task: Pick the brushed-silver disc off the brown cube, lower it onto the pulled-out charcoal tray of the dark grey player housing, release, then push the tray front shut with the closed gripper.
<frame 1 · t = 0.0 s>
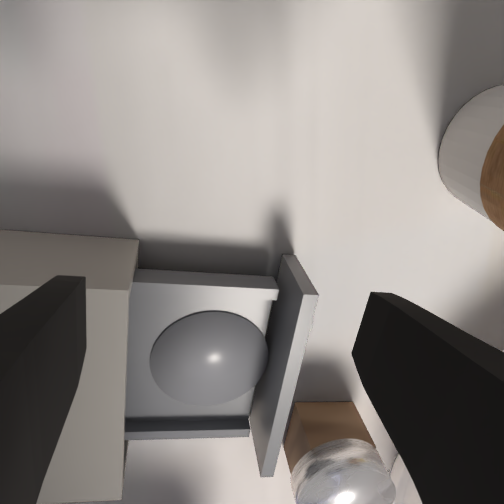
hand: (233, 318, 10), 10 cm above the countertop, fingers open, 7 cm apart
brown cube: (317, 424, 27), on the countertop
tray: (196, 368, 21), point 2 cm above the countertop, slide at 7.0 cm
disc: (335, 471, 24), point 3 cm above the countertop, touching brown cube
housing: (33, 339, 21), on the countertop
coffee cup: (489, 146, 21), on the countertop
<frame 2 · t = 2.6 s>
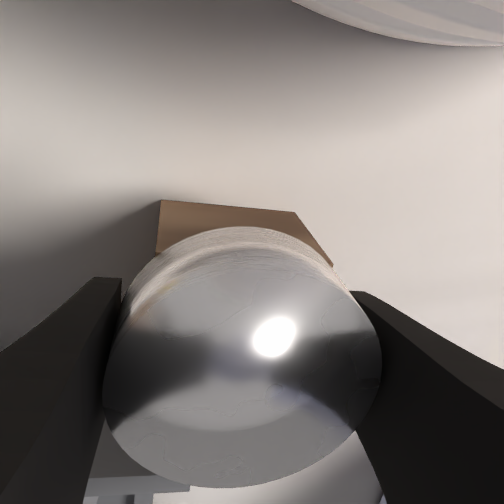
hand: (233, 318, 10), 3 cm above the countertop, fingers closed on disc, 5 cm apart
brown cube: (221, 266, 13), on the countertop
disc: (236, 332, 10), point 3 cm above the countertop, touching gripper, brown cube
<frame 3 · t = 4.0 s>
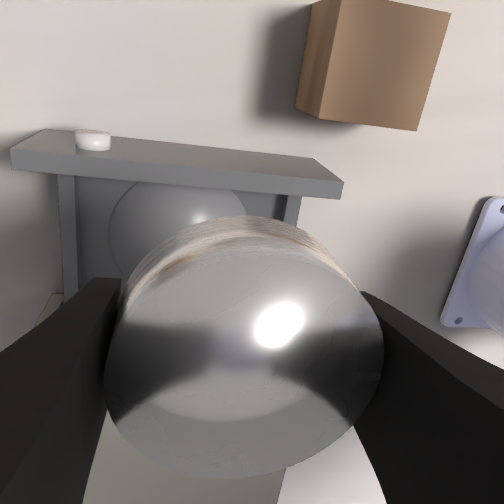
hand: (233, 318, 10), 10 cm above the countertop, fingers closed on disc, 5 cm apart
brown cube: (347, 65, 18), on the countertop
tray: (181, 259, 18), point 2 cm above the countertop, slide at 7.0 cm
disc: (237, 323, 10), point 11 cm above the countertop, touching gripper
housing: (170, 373, 23), on the countertop
when the fingers open (3 cm above the countertop, at t = 5.9 s): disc drops 2 cm, resting on tray.
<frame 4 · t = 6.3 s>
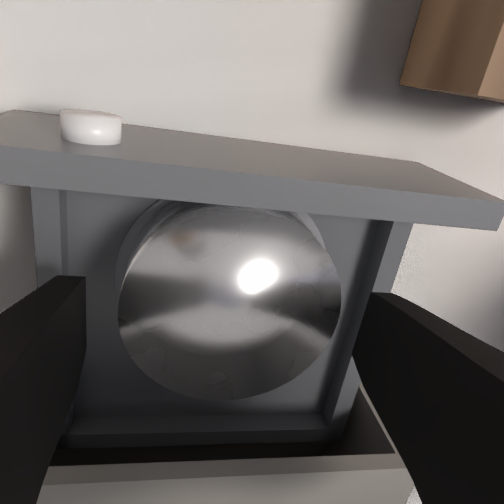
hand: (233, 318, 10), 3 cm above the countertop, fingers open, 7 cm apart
brown cube: (484, 20, 12), on the countertop
tray: (224, 314, 12), point 2 cm above the countertop, slide at 7.0 cm, touching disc
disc: (226, 277, 12), point 2 cm above the countertop, touching tray
housing: (194, 453, 17), on the countertop
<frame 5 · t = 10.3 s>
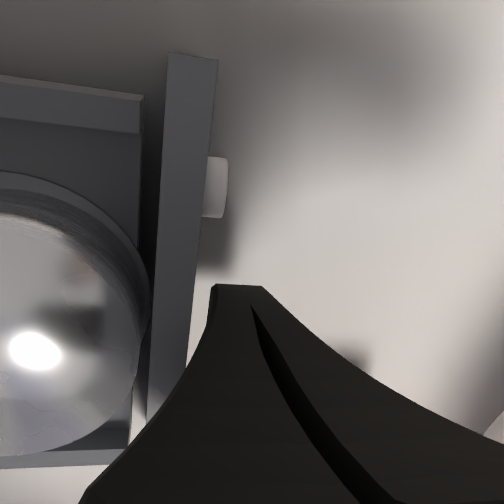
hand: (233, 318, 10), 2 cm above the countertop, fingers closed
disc: (25, 301, 10), point 2 cm above the countertop, touching tray
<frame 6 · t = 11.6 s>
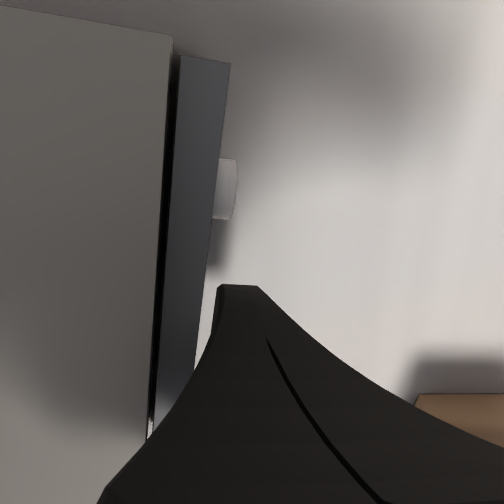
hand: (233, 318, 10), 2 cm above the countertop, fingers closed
brown cube: (446, 431, 17), on the countertop
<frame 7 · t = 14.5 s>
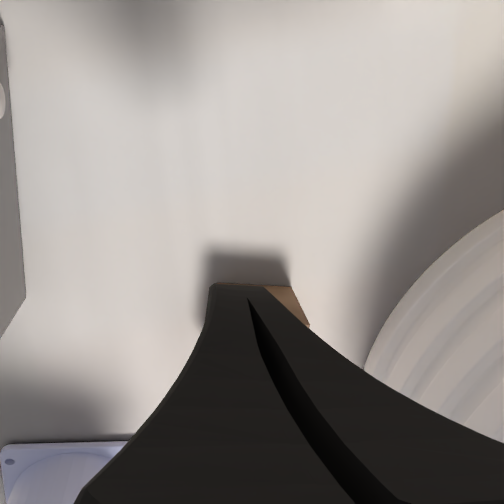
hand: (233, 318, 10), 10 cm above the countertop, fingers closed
brown cube: (249, 316, 22), on the countertop
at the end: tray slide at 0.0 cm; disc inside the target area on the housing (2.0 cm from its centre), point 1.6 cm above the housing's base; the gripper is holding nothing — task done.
